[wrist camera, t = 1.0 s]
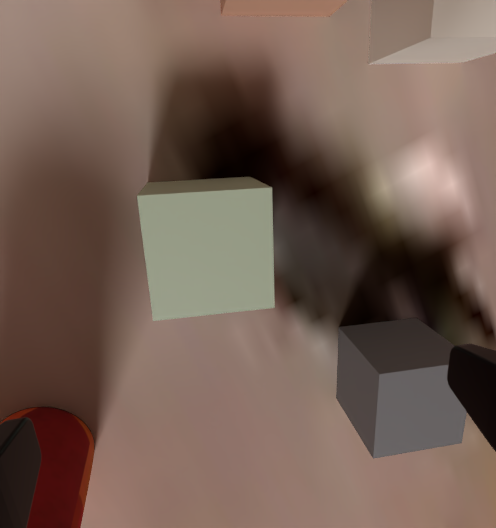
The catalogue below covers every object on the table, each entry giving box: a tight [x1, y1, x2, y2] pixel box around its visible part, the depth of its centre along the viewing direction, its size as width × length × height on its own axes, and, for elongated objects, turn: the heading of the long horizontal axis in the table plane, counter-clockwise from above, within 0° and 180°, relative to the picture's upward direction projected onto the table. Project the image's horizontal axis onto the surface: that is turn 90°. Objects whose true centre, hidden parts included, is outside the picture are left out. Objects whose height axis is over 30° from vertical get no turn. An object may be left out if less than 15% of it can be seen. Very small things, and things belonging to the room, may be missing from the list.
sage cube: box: [137, 177, 275, 321], centre depth 17 cm, size 5×5×5 cm
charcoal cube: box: [336, 318, 467, 458], centre depth 21 cm, size 5×5×5 cm
